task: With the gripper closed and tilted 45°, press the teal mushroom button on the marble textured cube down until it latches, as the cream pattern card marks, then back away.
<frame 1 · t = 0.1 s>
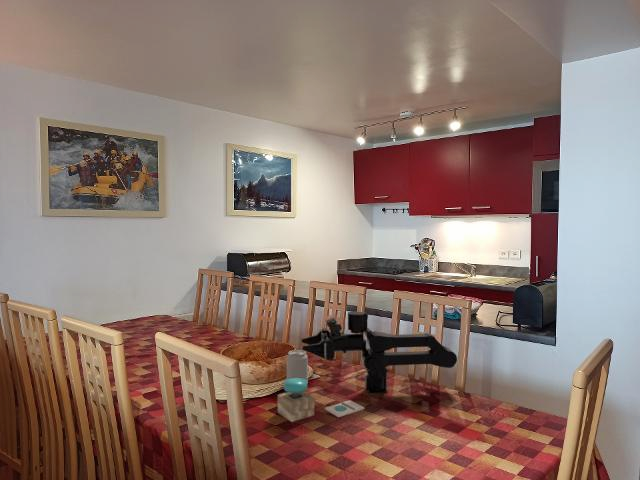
hand: (302, 344, 154), 17 cm above the table, tool horizontal, fingers open, 9 cm apart
marble textured cube: (295, 413, 138), on the table
button: (295, 389, 138), point 7 cm above the table, slide at 0.0 cm
can: (297, 385, 162), on the table
pattern card: (344, 409, 141), on the table
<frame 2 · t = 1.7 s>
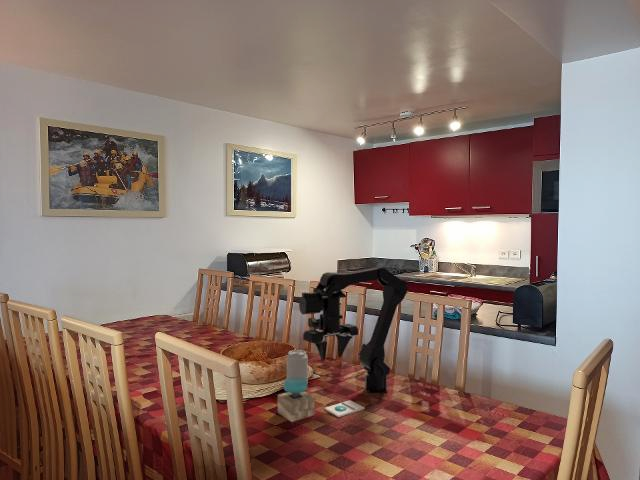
hand: (331, 359, 149), 13 cm above the table, tool pointing down, fingers open, 6 cm apart
nothing on the table moved.
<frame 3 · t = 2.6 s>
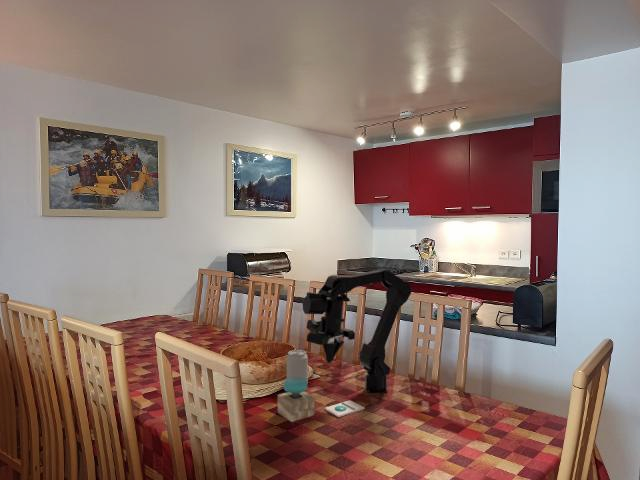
hand: (329, 362, 148), 12 cm above the table, tool pointing down, fingers closed
nothing on the table moved.
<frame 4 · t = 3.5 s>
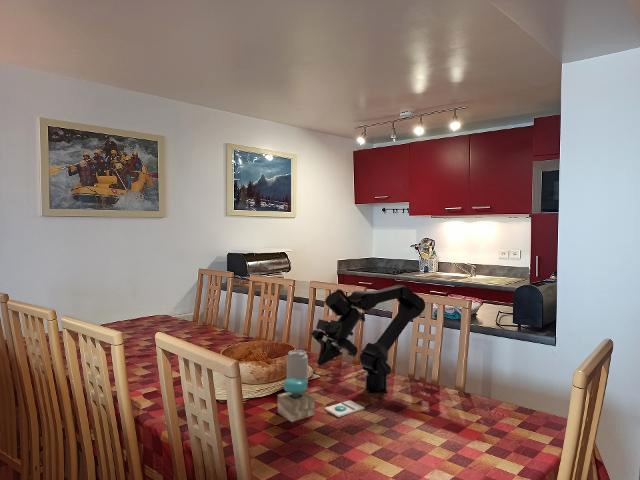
hand: (318, 365, 142), 13 cm above the table, tool tilted 45°, fingers closed
nothing on the table moved.
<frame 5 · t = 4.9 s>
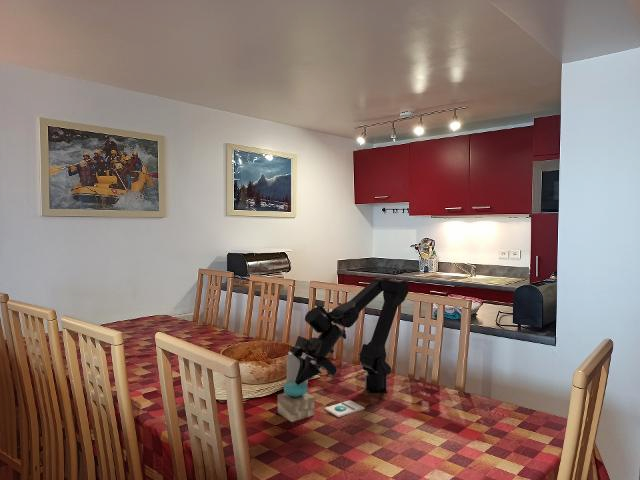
hand: (296, 383, 138), 9 cm above the table, tool tilted 45°, fingers closed, pressing on button
button: (295, 392, 138), point 7 cm above the table, slide at 0.9 cm, touching gripper
everything else where it was.
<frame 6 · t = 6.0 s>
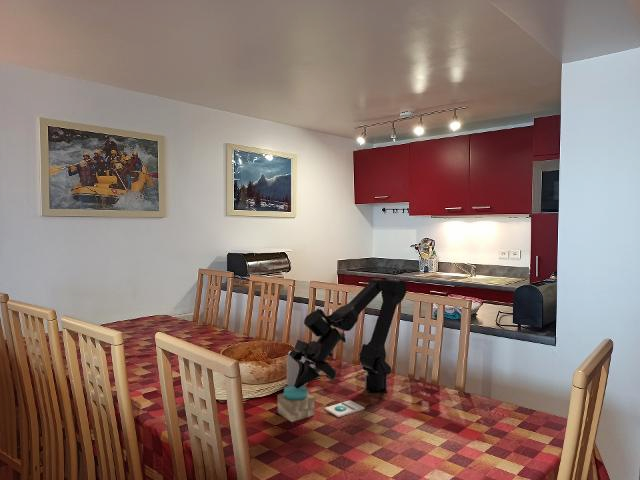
hand: (295, 387, 137), 8 cm above the table, tool tilted 45°, fingers closed
button: (295, 396, 138), point 5 cm above the table, slide at 2.1 cm
everything else where it was.
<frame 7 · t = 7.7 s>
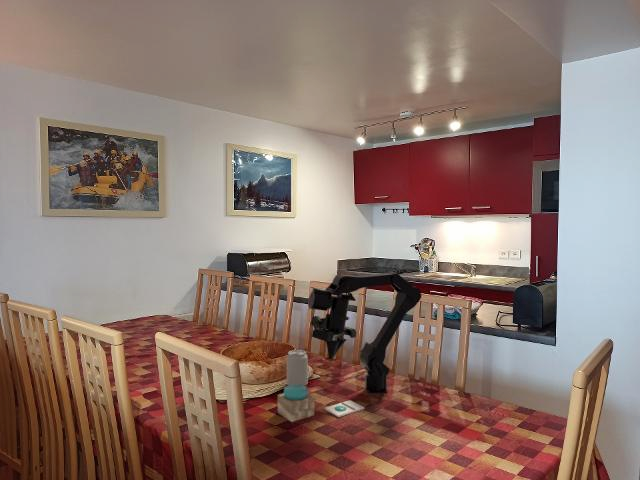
hand: (330, 358, 151), 12 cm above the table, tool pointing down, fingers closed
nothing on the table moved.
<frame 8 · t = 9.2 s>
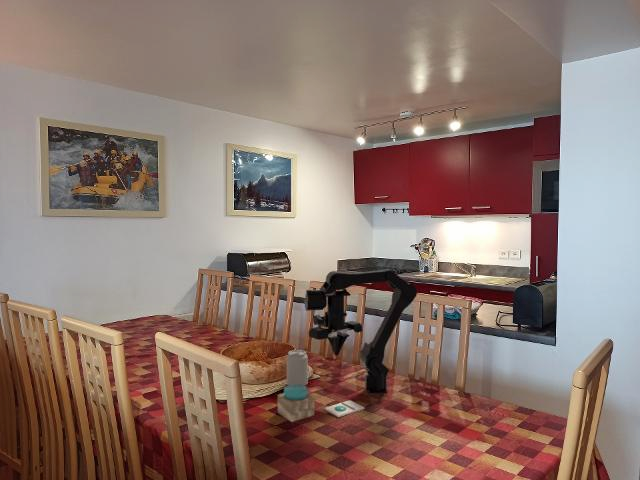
hand: (336, 355, 153), 13 cm above the table, tool pointing down, fingers closed
nothing on the table moved.
at the end: button slide at 2.1 cm; can moved 0.2 cm from its start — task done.
